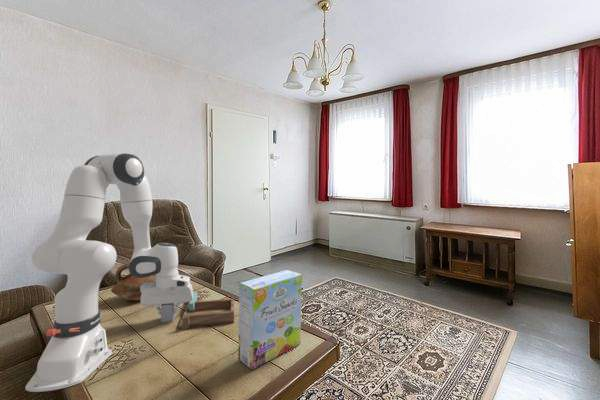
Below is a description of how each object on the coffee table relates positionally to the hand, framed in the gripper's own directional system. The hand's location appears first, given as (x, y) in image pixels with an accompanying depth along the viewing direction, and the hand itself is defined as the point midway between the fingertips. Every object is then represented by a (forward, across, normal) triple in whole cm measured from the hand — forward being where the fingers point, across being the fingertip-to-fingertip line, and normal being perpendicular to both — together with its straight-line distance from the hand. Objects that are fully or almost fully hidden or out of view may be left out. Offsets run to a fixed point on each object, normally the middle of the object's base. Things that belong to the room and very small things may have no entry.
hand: (168, 313), depth 120 cm
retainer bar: (+1, +9, +11) cm, 14 cm away
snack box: (+3, +40, -33) cm, 52 cm away
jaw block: (+3, 0, 0) cm, 3 cm away
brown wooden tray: (+3, +17, +4) cm, 17 cm away
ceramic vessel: (+3, -18, +27) cm, 33 cm away
